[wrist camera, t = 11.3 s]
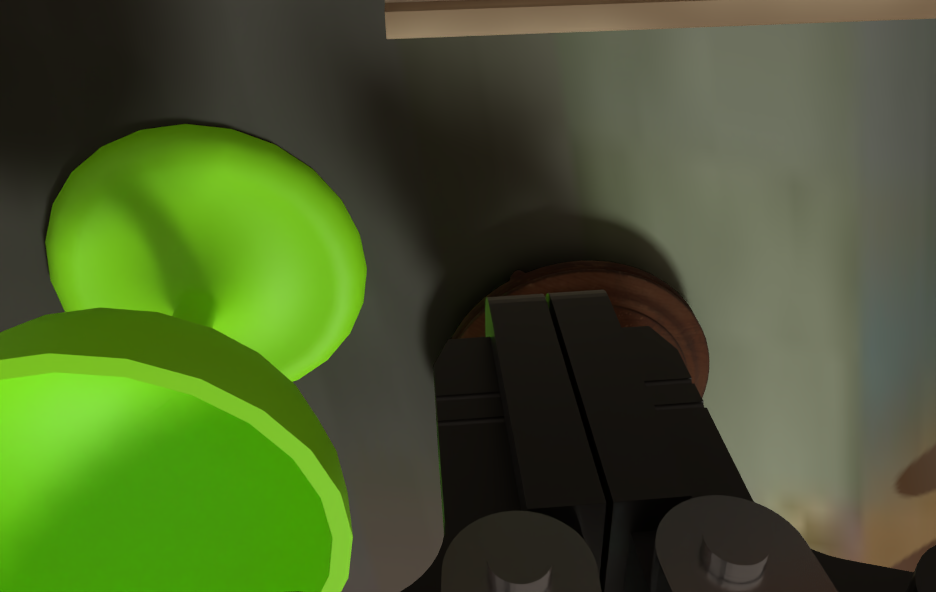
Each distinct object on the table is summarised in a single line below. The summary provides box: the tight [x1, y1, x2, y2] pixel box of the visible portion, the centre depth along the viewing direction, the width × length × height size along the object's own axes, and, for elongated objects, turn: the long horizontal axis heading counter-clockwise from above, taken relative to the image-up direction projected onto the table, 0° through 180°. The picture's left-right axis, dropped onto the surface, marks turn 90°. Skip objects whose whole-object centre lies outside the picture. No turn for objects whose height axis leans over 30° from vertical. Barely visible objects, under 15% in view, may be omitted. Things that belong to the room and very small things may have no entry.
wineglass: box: [0, 124, 367, 592], centre depth 35 cm, size 16×16×18 cm
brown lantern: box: [452, 261, 709, 398], centre depth 39 cm, size 15×15×20 cm
